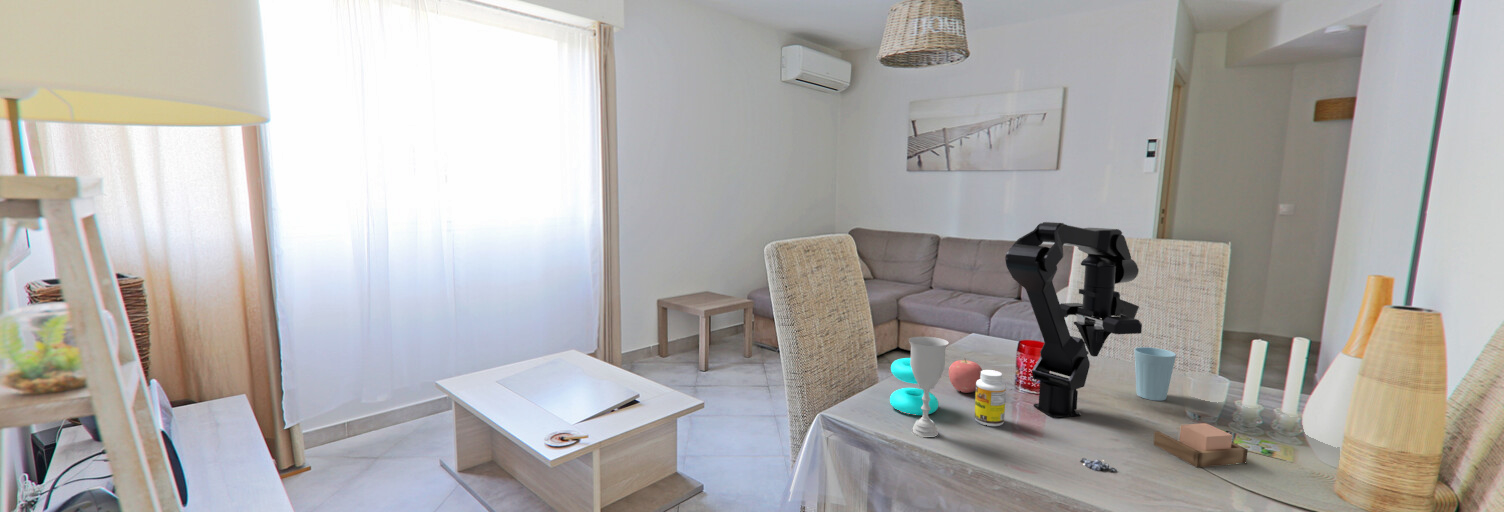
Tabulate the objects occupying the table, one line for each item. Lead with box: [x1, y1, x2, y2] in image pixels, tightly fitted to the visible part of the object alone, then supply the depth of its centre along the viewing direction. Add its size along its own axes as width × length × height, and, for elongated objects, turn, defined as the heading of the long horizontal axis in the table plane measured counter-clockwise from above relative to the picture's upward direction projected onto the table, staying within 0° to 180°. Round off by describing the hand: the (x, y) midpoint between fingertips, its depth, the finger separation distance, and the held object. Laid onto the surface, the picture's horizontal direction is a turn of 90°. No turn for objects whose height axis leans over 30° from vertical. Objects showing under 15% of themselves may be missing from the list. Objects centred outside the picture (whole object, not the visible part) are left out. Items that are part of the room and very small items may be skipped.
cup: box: [1133, 346, 1177, 402], centre depth 130 cm, size 8×8×10 cm
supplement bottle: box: [974, 369, 1007, 427], centre depth 116 cm, size 6×6×10 cm
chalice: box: [908, 336, 949, 436], centre depth 110 cm, size 7×7×18 cm
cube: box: [1178, 422, 1233, 451], centre depth 101 cm, size 5×5×5 cm
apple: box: [948, 357, 983, 394], centre depth 133 cm, size 7×7×8 cm
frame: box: [1153, 430, 1249, 468], centre depth 102 cm, size 10×9×2 cm
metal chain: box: [1079, 457, 1118, 474], centre depth 98 cm, size 7×8×2 cm
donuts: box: [889, 357, 939, 416], centre depth 123 cm, size 10×10×10 cm
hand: (1093, 356), depth 127 cm, fingers closed
